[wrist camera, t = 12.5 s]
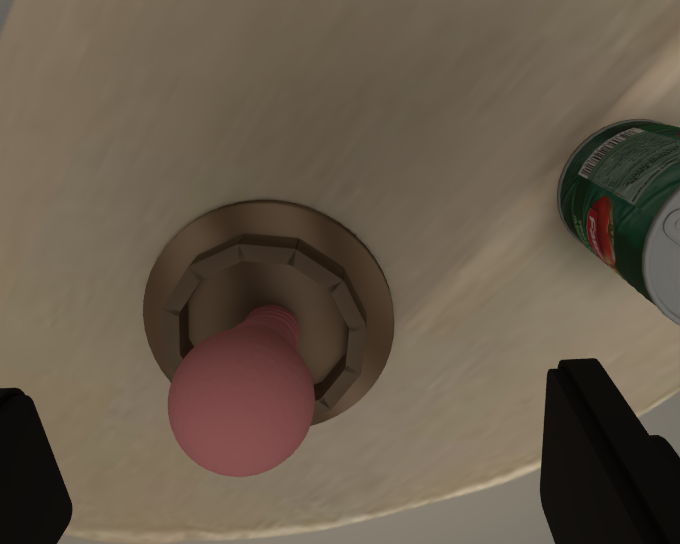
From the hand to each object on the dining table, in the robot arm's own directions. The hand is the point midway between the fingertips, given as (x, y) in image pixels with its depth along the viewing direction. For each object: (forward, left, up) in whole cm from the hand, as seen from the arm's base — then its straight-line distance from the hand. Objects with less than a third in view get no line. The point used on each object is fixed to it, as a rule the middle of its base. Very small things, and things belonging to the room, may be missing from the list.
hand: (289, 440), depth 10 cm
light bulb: (+8, +7, -24) cm, 26 cm away
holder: (+8, +7, -24) cm, 27 cm away
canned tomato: (-15, +8, -25) cm, 30 cm away
